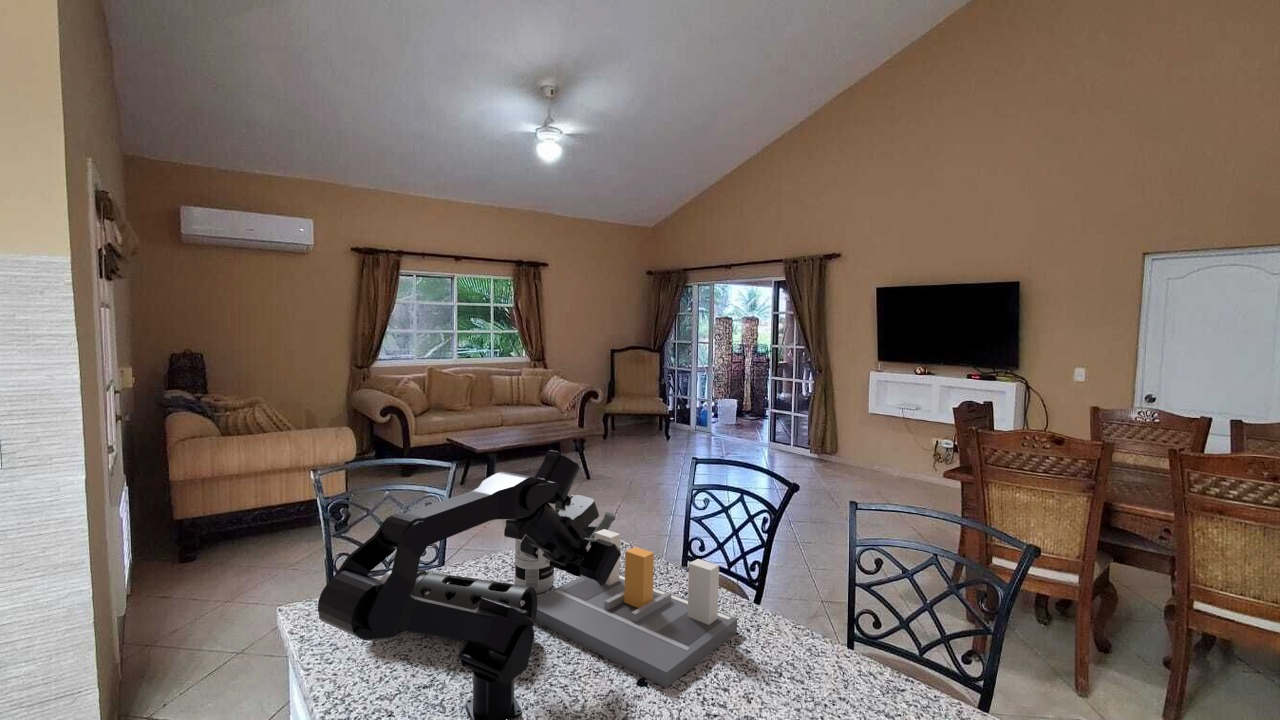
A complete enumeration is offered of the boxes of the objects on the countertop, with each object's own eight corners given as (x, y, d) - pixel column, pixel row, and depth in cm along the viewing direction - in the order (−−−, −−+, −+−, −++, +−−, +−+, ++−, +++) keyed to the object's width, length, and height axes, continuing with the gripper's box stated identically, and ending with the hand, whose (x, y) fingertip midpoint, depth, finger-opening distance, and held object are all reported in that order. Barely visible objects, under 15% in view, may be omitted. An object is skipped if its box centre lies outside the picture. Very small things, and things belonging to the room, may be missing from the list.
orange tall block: (642, 610, 105) (644, 557, 104) (624, 602, 107) (625, 551, 107) (652, 604, 107) (653, 552, 107) (634, 596, 110) (635, 546, 109)
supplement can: (510, 582, 121) (511, 514, 121) (547, 576, 125) (548, 510, 124) (519, 598, 114) (520, 525, 114) (558, 591, 118) (559, 521, 117)
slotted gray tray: (666, 688, 86) (668, 608, 85) (523, 615, 107) (524, 551, 107) (736, 632, 103) (738, 565, 102) (601, 578, 124) (602, 523, 124)
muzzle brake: (513, 661, 92) (514, 599, 92) (369, 635, 99) (369, 577, 99) (537, 632, 101) (538, 576, 101) (404, 610, 108) (405, 557, 108)
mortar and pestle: (563, 566, 130) (564, 516, 130) (573, 551, 140) (573, 504, 139) (611, 570, 129) (612, 518, 129) (617, 554, 138) (618, 506, 138)
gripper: (614, 495, 86) (655, 545, 95) (534, 474, 98) (578, 521, 107) (576, 560, 80) (625, 607, 89) (496, 530, 92) (546, 574, 101)
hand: (592, 573), depth 97 cm, fingers closed
